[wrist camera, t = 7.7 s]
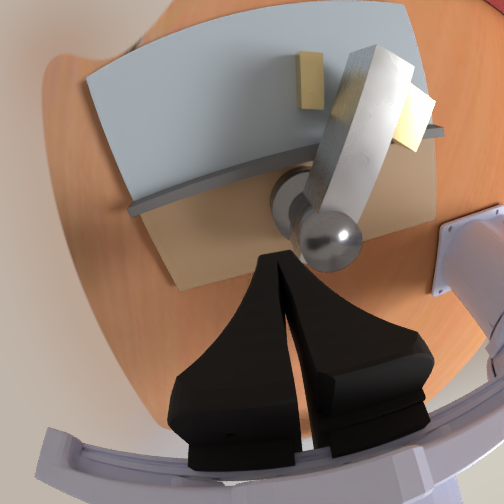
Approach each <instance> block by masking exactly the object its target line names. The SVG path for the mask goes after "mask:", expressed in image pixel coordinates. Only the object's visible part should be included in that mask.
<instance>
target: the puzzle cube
mask: <svg viewBox="0 0 504 504" xmlns="http://www.w3.org/2000/svg"><path fill="white" fill-rule="evenodd" d="M486 1H487V2H489V3H490V4H491V5H493V6H494V7H495V8H497V9H498V10H499V11H501V12H502V13H503V14H504V0H486Z"/></svg>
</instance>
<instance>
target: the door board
mask: <svg viewBox="0 0 504 504" xmlns="http://www.w3.org/2000/svg"><path fill="white" fill-rule="evenodd" d="M376 44H378V45H379V46H381V47H383V48H385V49H387V50H388V51H390V52H392V53H393V54H395V55H397V56H398V57H400V58H402V59H403V60H405V61H406V62H408V63H409V64H411V65H413V66H414V71H413V74H412V78H411V81H410V83H411V84H413V85H414V86H415V87H417V88H418V89H419V90H421V91H422V92H423V93H425V94H426V95H427V96H429V94H428V89H427V83H426V78H425V74H424V69H423V65H422V61H421V57H420V53H419V49H418V46H417V42H416V39H415V35H414V32H413V29H412V26H411V23H410V20H409V17H408V14H407V11H406V9H405V6H404V4H399V3H390V2H378V1H359V0H332V1H313V2H301V3H292V4H284V5H277V6H271V7H265V8H259V9H254V10H249V11H245V12H240V13H236V14H232V15H228V16H224V17H221V18H217V19H214V20H210V21H207V22H204V23H201V24H197V25H194V26H192V27H189V28H186V29H183V30H180V31H178V32H175V33H172V34H170V35H167V36H165V37H163V38H160V39H158V40H155V41H153V42H151V43H149V44H147V45H144V46H142V47H140V48H138V49H136V50H134V51H132V52H130V53H128V54H126V55H124V56H122V57H120V58H118V59H117V60H115V61H113V62H111V63H109V64H108V65H106V66H104V67H102V68H101V69H99V70H97V71H96V72H94V73H92V74H91V75H89V76H88V77H86V80H87V83H88V87H89V90H90V93H91V96H92V99H93V102H94V105H95V108H96V111H97V113H98V116H99V119H100V122H101V124H102V127H103V130H104V132H105V135H106V138H107V140H108V143H109V145H110V148H111V150H112V153H113V155H114V158H115V160H116V163H117V165H118V167H119V170H120V172H121V174H122V177H123V179H124V181H125V184H126V186H127V188H128V190H129V193H130V195H131V197H132V199H133V201H134V202H133V203H132V204H131V205H130V206H129V207H128V208H127V210H128V212H129V214H130V217H131V218H132V217H135V216H137V215H140V216H141V218H142V220H143V223H144V225H145V227H146V229H147V231H148V233H149V235H150V237H151V239H152V241H153V243H154V245H155V247H156V249H157V250H158V252H159V254H160V256H161V258H162V260H163V262H164V264H165V266H166V268H167V269H168V271H169V273H170V275H171V277H172V279H173V280H174V282H175V284H176V286H177V288H178V289H179V291H183V290H187V289H191V288H195V287H199V286H203V285H207V284H210V283H214V282H218V281H222V280H226V279H230V278H233V277H237V276H241V275H245V274H249V273H252V272H255V269H256V265H257V260H258V257H259V256H260V255H262V254H268V253H273V252H279V251H285V250H292V251H293V252H294V249H293V246H292V243H291V241H289V240H288V239H286V238H285V237H284V236H283V235H282V234H281V233H280V232H279V231H278V229H277V227H276V225H275V222H274V219H273V216H272V213H271V209H270V195H271V192H272V189H273V187H274V185H275V183H276V182H277V180H278V179H279V178H280V177H281V176H282V175H283V174H285V173H286V172H288V171H289V170H291V169H294V168H297V167H301V166H312V164H313V161H314V158H315V156H316V153H317V150H318V147H319V144H320V141H321V138H322V135H323V132H324V130H325V127H326V124H327V121H328V118H329V115H330V112H331V109H332V106H333V103H334V100H335V97H336V94H337V91H338V88H339V84H340V81H341V78H342V75H343V72H344V69H345V66H346V63H347V59H348V56H349V53H351V52H354V51H357V50H360V49H363V48H366V47H369V46H372V45H376ZM299 51H308V52H320V53H323V65H324V110H319V109H299V108H297V97H296V64H295V54H296V53H298V52H299ZM436 137H444V127H440V126H437V125H433V122H432V114H431V116H430V118H429V121H428V124H427V126H426V129H425V131H424V134H423V137H422V139H421V142H420V144H419V146H418V149H417V151H416V152H414V151H411V150H409V149H407V148H404V147H402V146H399V145H396V144H395V143H393V142H392V141H391V143H390V145H389V148H388V151H387V154H386V156H385V159H384V161H383V164H382V167H381V169H380V172H379V174H378V177H377V179H376V182H375V184H374V186H373V189H372V191H371V194H370V196H369V198H368V201H367V203H366V205H365V208H364V210H363V212H362V214H361V217H360V219H359V221H358V223H357V225H358V226H359V228H360V230H361V233H362V238H363V240H362V242H363V241H367V240H370V239H373V238H377V237H380V236H383V235H387V234H390V233H393V232H397V231H400V230H403V229H407V228H410V227H413V226H416V225H420V224H423V223H426V222H429V221H433V220H436V156H435V141H434V138H436ZM294 254H295V252H294Z"/></svg>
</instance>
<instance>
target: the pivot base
mask: <svg viewBox="0 0 504 504" xmlns="http://www.w3.org/2000/svg"><path fill="white" fill-rule="evenodd" d="M311 167H312V166H301V167H297V168H294V169H291V170H289V171H288V172H286V173H285V174H283V175H282V176H281V177H280V178H279V179H278V180H277V182H276V183H275V185H274V187H273V189H272V192H271V195H270V209H271V213H272V216H273V219H274V222H275V225H276V227H277V229H278V231H279V232H280V233H281V234H282V235H283V236H284V237H285V238H286V239H288V240H289V241H290V238H289V235H288V230H289V227H290V225H291V224H290V222H289V217H288V211H289V207H290V204H291V202H292V201H293V199H294V198H295V197H296V196H297V195H298V194H300V193H301V192H303V189H304V186H305V184H306V181H307V178H308V175H309V172H310V170H311Z"/></svg>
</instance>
